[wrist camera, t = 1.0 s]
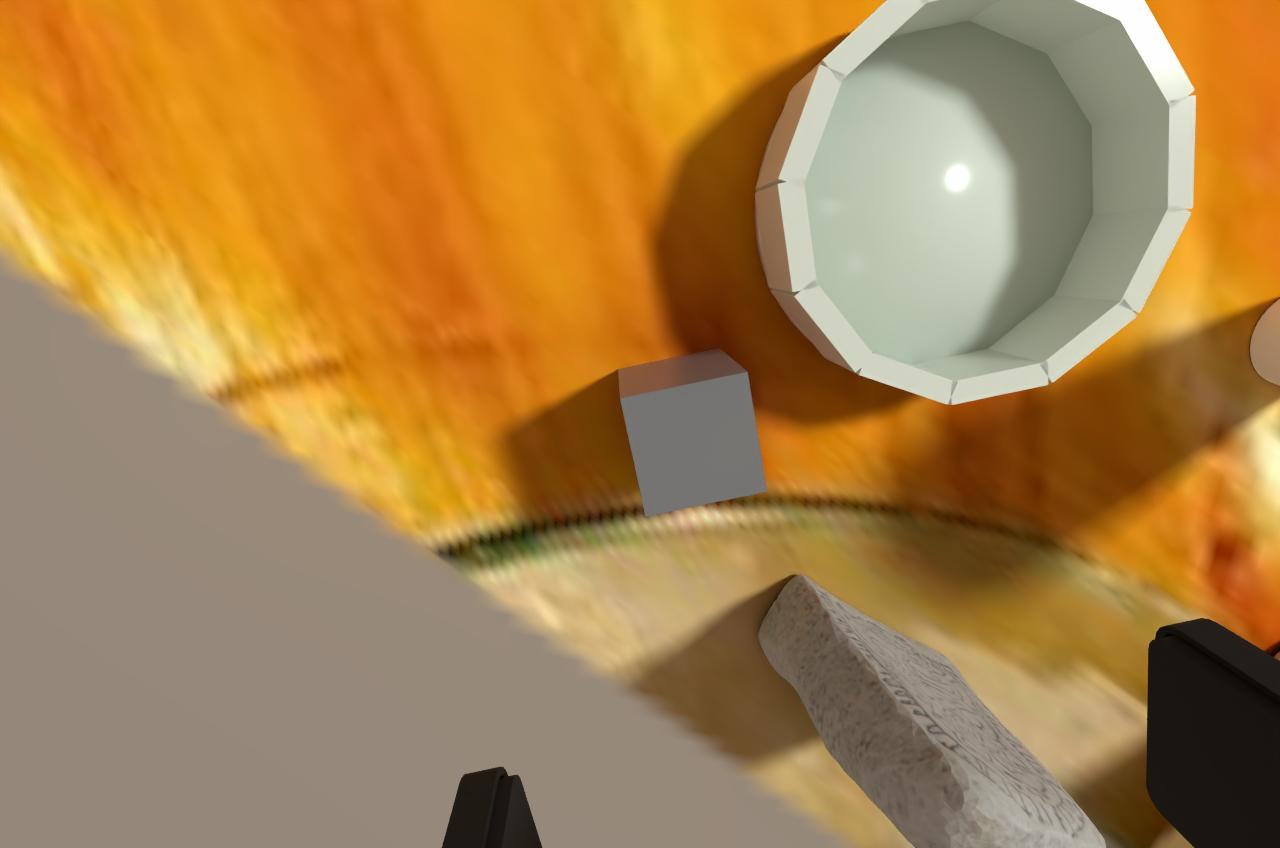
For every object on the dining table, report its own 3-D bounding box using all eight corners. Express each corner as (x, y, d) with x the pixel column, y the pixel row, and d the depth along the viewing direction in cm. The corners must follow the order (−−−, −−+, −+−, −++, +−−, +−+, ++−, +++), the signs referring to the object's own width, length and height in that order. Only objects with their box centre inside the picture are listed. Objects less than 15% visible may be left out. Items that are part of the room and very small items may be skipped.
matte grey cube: (719, 347, 31) (747, 371, 24) (736, 444, 32) (766, 491, 26) (617, 369, 31) (619, 398, 24) (638, 465, 32) (645, 516, 26)
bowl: (1095, -28, 27) (1200, -89, 22) (1099, 339, 31) (1189, 355, 26) (728, 51, 27) (753, 8, 22) (781, 406, 31) (812, 434, 27)
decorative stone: (962, 637, 35) (1205, 901, 21) (901, 718, 37) (1090, 1021, 22) (799, 554, 34) (942, 780, 19) (741, 642, 35) (833, 917, 20)
